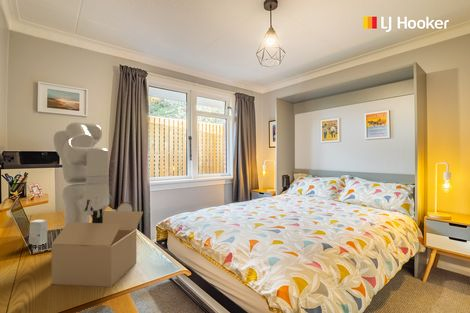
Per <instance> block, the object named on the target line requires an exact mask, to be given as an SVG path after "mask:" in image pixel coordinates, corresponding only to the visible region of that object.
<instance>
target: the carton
mask: <svg viewBox="0 0 470 313" xmlns="http://www.w3.org/2000/svg"><path fill="white" fill-rule="evenodd" d="M136 264H137V229H136V230H125V229H119V230H118V232H117V234H116V236H115V238H114V240H113V242H112V244H111V245H110V246H87V245H57V244H51V285H61V286H62V285H65V286H85V287H86V286H87V287H89V286H90V287H109V288H111V287H113V286H114V285H115V284H116V283H117V282H118V281H119V280H120V279H122V277H123V276H124V275H125V274H126V273H128V271H129V270H130V269H131V268H132V267H133V266H134V265H136Z"/></svg>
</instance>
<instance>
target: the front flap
mask: <svg viewBox="0 0 470 313" xmlns="http://www.w3.org/2000/svg"><path fill="white" fill-rule="evenodd" d="M120 226H121V224H111V223H91V222H89V223H75V222H68V223H67V224H66V226H65V225H64V227H63V228H62V230H61V231H60V232H59V234H58V235H57V236H56V238H55V239H54V240H53V242H52V244H57V245H87V246H110V245H111V244H112V242H113V240H114V238H115V236H116V234H117V232H118V230H119V228H120ZM52 244H51V245H52Z"/></svg>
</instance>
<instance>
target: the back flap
mask: <svg viewBox="0 0 470 313" xmlns="http://www.w3.org/2000/svg"><path fill="white" fill-rule="evenodd" d="M143 213H144V211H134V210H133V211H108V210H104V215H103V223H111V224H121V226H120V228H119V229H125V230H136V231H137V228H138V225H139V223H140V221H141V218H142V216H143ZM90 223H92V221H90Z"/></svg>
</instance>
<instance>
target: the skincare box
mask: <svg viewBox="0 0 470 313" xmlns="http://www.w3.org/2000/svg"><path fill="white" fill-rule="evenodd" d="M48 222H49V221H48V220H47V219H34V220H31V221H29V230H28V231H29V232H28V233H29V234H28V236H29V237H28V245H29V244H33V245H42V244H44V245H46V244H48ZM45 243H46V244H45ZM42 246H43V245H42Z"/></svg>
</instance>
